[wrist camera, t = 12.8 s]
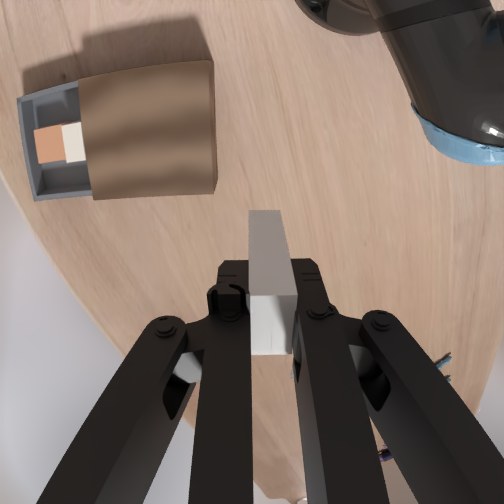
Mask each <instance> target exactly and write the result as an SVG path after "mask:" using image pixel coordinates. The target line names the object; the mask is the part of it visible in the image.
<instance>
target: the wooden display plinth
mask: <svg viewBox="0 0 504 504" xmlns="http://www.w3.org/2000/svg"><path fill="white" fill-rule="evenodd" d="M78 90H79V102H80V113H81V122H82V131H83V139H84V146H85V153H86V160H87V166H88V172H89V178H90V184H91V189H92V195H93V200H106V199H120V198H136V197H154V196H175V195H202V194H214V191H215V188H216V184H217V181H218V169H217V145H216V119H215V86H214V62H212V61H210V60H198V61H186V62H176V63H167V64H159V65H151V66H144V67H138V68H131V69H126V70H120V71H114V72H109V73H104V74H99V75H95V76H90V77H86V78H82V79H78Z"/></svg>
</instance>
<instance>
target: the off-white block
mask: <svg viewBox="0 0 504 504" xmlns="http://www.w3.org/2000/svg"><path fill="white" fill-rule="evenodd" d="M61 127H62V135H63V142H64V149H65V155H66V161H67V163H70V162H76V161H83V160H86V153H85V146H84V139H83V131H82V122H81V119H79V120H76V121H73V122H71V123H68V124H65V125H62V126H61Z"/></svg>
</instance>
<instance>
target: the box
mask: <svg viewBox="0 0 504 504" xmlns="http://www.w3.org/2000/svg"><path fill="white" fill-rule="evenodd" d="M17 107H18V116H19V124H20V131H21V138H22V144H23V150H24V156H25V162H26V167H27V172H28V177H29V182H30V186H31V190H32V195H33V199H34V201H42V200H51V199H60V198H70V197H81V196H92V189H91V184H90V178H89V172H88V166H87V160H83V161H76V162H70V163H67V161H66V160H59V161H53V162H46V163H40V164H39V162H38V156H37V150H36V143H35V137H34V130H36V129H38V128H41V127H44V126H48V125H52V124H57V123H62V122H67V121H72V122H73V121H76V120H79V119H81V113H80V102H79V90H78V81H74V82H70V83H66V84H62V85H58V86H55V87H51V88H48V89H44V90H41V91H38V92H34V93H31V94H28V95H25V96H22V97H19V98H17Z"/></svg>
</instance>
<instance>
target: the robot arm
mask: <svg viewBox="0 0 504 504" xmlns="http://www.w3.org/2000/svg"><path fill="white" fill-rule="evenodd" d="M295 2H296V3H297V5H298V6H299V8H300V9H301V10H302V11H303V12H304V13H305V14H306V15H307V16H308V17H309V18H310V19H311V20H313V21H314V22H315V23H317V24H318V25H320V26H322V27H324V28H326V29H328V30H330V31H333V32H336V33H340V34H344V35H352V36H360V35H368V34H371V33H375V32H378V31H380V32H381V35H382V37H383V39H384V41H385V43H386V45H387V47H388V49H389V51H390V53H391V55H392V57H393V60H394V62H395V64H396V66H397V68H398V71H399V73H400V75H401V77H402V80H403V82H404V85H405V87H406V89H407V92H408V94H409V97H410V99H411V106H412V109H413V111H414V113H415V114H416V116H417V117H418V118H419V120H420V123H421V125H422V128H423V130H424V133H425V135H426V138H427V139H428V141H429V142H430V143H431V144H432V145H433V146H434V147H435V148H436V149H437V150H438V151H439V152H441V153H442V154H444V155H446V156H448V157H450V158H452V159H455V160H457V161H461V162H464V163H469V164H475V165H486V166H494V165H503V164H504V10H502V11H495V10H494V9H493V7H492V4H491V2H490V0H295ZM217 276H218V277H217V283H216V285H214V286H213V287H211V288H210V289H209V291H208V293H207V301H208V310H209V315H208V316H206V317H205V318H203V319H201V320H199V321H196V322H192V323H187V324H185V322H184V321H183V320H181V319H180V318H178V317H175V316H162V317H158V318H156V319H154V320H152V321H151V322H150V323H149V324H148V325H147V326H146V328H145V329H144V331H143V332H142V334H141V335H140V337H139V338H138V340H137V341H136V342H135V344H134V345H133V347H132V348H131V350H130V351H129V353H128V355H127V356H126V358H125V359H124V361H123V362H122V364H121V365H120V367H119V368H118V370H117V371H116V373H115V374H114V376H113V377H112V379H111V380H110V382H109V384H108V385H107V387H106V388H105V390H104V391H103V393H102V394H101V396H100V398H99V399H98V401H97V402H96V404H95V406H94V407H93V409H92V410H91V412H90V413H89V415H88V417H87V418H86V420H85V422H84V423H83V425H82V426H81V428H80V430H79V431H78V433H77V435H76V436H75V438H74V440H73V441H72V443H71V444H70V446H69V448H68V449H67V451H66V453H65V454H64V456H63V458H62V460H61V461H60V463H59V465H58V466H57V468H56V470H55V471H54V473H53V475H52V477H51V478H50V480H49V482H48V483H47V485H46V487H45V489H44V491H43V492H42V494H41V496H40V498H39V500H38V501H37V503H36V504H143V502H144V499H145V497H146V495H147V493H148V491H149V488H150V486H151V484H152V482H153V479H154V477H155V475H156V473H157V470H158V468H159V466H160V464H161V461H162V459H163V457H164V455H165V453H166V450H167V448H168V446H169V444H170V441H171V439H172V437H173V435H174V432H175V430H176V428H177V426H178V423H179V421H180V419H181V417H182V414H183V412H184V410H185V408H186V406H187V403H188V401H189V399H190V397H191V394H192V392H193V390H194V388H195V385H196V382H197V381H201V382H200V390H199V399H198V408H197V417H196V426H195V435H194V445H193V456H192V466H191V476H190V488H189V500H188V504H253V446H252V381H251V355H277V354H292V347H293V354H294V358H293V366H292V373H291V378H294V382H295V390H296V398H297V407H298V416H299V425H300V434H301V443H302V452H303V462H304V472H305V482H306V492H307V502H308V504H390V503H389V498H388V494H387V489H386V484H385V480H384V475H383V471H382V466H381V462H380V458H379V454H378V450H377V445H376V441H375V437H374V433H373V430H372V426H371V422H370V418H371V419H372V421H373V423H374V425H375V426H376V428H377V430H378V432H379V433H380V435H381V437H382V439H383V440H384V442H385V444H386V446H387V448H388V449H389V451H390V453H391V455H392V456H393V458H394V460H395V462H396V464H397V465H398V467H399V469H400V471H401V473H402V474H403V476H404V478H405V480H406V482H407V483H408V485H409V487H410V489H411V491H412V492H413V494H414V496H415V498H416V500H417V501H418V503H419V504H504V458H503V457H502V455H501V454H500V452H499V451H498V450H497V448H496V447H495V445H494V444H493V442H492V441H491V439H490V438H489V436H488V435H487V434H486V432H485V431H484V429H483V428H482V426H481V425H480V424H479V422H478V421H477V420H476V418H475V417H474V415H473V414H472V413H471V411H470V410H469V409H468V407H467V406H466V404H465V403H464V402H463V400H462V399H461V398H460V396H459V395H458V394H457V392H456V391H455V390H454V389H453V387H452V386H451V385H450V383H449V382H448V381H447V379H446V378H445V377H444V376H443V374H442V373H441V372H440V370H439V369H438V368H437V367H436V365H435V364H434V363H433V362H432V360H431V359H430V358H429V356H428V355H427V354H426V353H425V352H424V350H423V349H422V348H421V347H420V345H419V344H418V343H417V342H416V340H415V339H414V338H413V337H412V336H411V334H410V333H409V332H408V331H407V329H406V328H405V327H404V326H403V325H402V323H401V322H400V321H399V320H398V319H397V318H396V317H395V316H394V315H393V314H391V313H389V312H386V311H382V310H372V311H370V312H367V313H366V314H365V315H364V316H363V318H362V320H361V319H356V318H350V317H346V316H343V315H341V314H339V312H338V310H337V309H336V307H335V306H334V305H332V304H331V303H330V302H329V299H328V296H327V293H326V290H325V287H324V283H323V281H322V277H321V274H320V271H319V268H318V265H317V264H316V263H315V262H314V261H313V260H312V259H311V258H306V259H290V255H289V250H288V245H287V241H286V236H285V231H284V227H283V222H282V218H281V213H280V210H249V260H225V261H224V262H223V263H222V264H221V265H220V266H219V268H218V275H217ZM369 416H370V418H369Z"/></svg>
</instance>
